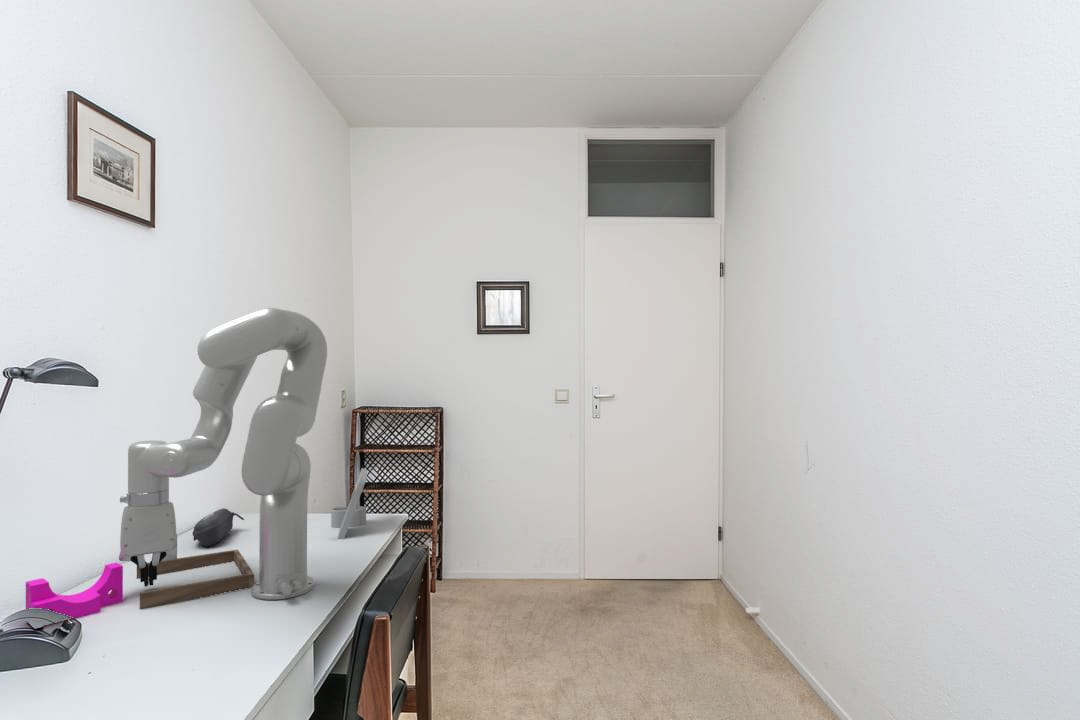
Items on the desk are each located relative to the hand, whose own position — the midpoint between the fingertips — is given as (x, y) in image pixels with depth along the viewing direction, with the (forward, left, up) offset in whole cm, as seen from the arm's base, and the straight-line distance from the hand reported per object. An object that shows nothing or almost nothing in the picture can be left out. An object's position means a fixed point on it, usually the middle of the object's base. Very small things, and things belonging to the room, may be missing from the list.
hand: (148, 584), depth 136 cm
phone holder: (+20, -49, -2) cm, 53 cm away
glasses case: (+34, -17, -2) cm, 38 cm away
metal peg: (+18, -4, -2) cm, 19 cm away
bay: (0, -9, -1) cm, 9 cm away
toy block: (-6, +12, -2) cm, 14 cm away
